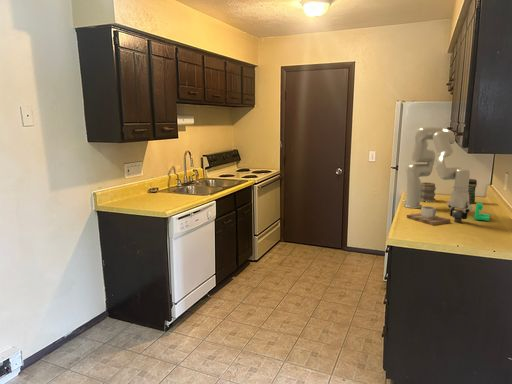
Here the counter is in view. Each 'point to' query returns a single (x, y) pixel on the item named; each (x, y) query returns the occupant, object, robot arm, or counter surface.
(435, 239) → the counter surface
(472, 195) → the coffee jar
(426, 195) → the tankard
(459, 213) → the grey sphere
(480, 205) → the camera mount
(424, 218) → the pipe flange plate
